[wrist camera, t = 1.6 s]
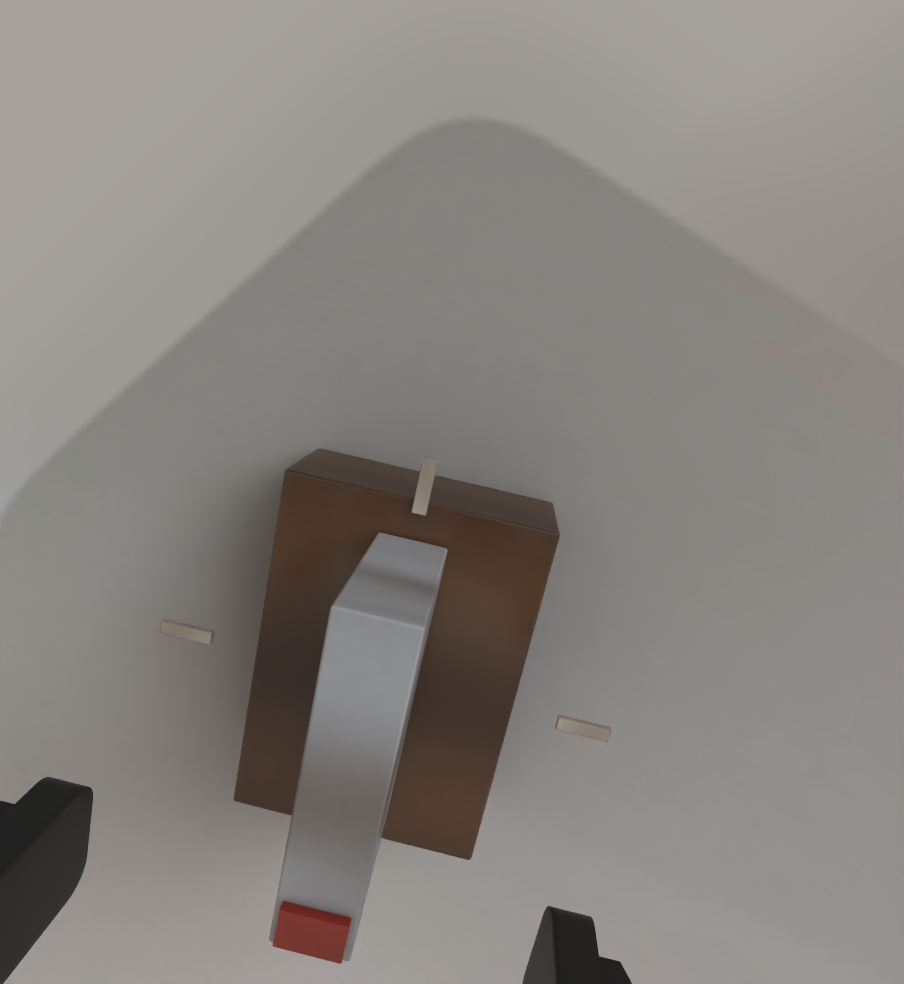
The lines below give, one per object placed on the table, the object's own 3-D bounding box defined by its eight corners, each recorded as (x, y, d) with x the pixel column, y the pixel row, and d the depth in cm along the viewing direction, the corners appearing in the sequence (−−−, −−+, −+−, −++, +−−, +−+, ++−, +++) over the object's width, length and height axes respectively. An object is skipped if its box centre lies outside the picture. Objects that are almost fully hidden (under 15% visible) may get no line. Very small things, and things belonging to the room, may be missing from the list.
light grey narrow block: (378, 531, 17) (327, 610, 12) (448, 547, 17) (423, 634, 12) (325, 795, 19) (263, 952, 14) (388, 811, 19) (346, 973, 14)
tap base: (237, 390, 19) (186, 403, 16) (652, 487, 19) (679, 518, 16) (189, 748, 22) (138, 815, 19) (545, 837, 22) (551, 919, 19)
